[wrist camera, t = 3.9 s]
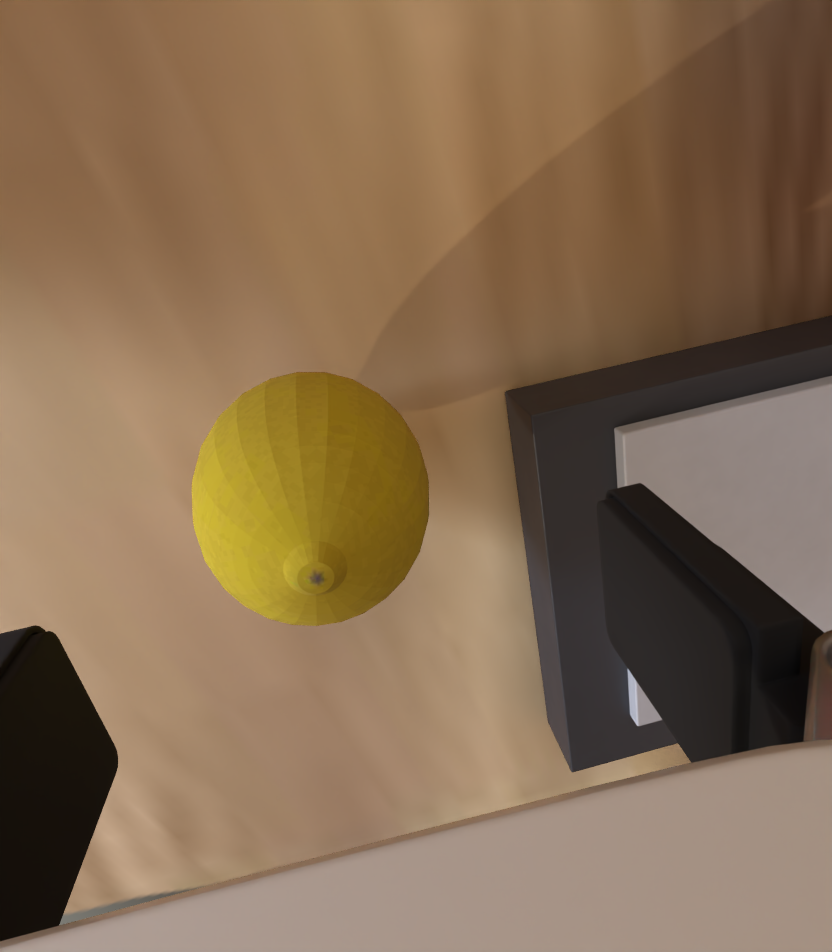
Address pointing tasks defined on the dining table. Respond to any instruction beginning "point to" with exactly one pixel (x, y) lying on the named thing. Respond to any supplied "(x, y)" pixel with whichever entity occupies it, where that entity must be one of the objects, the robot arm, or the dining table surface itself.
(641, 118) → the dining table surface
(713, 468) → the scale
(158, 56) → the dining table surface
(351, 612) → the lemon
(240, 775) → the dining table surface
